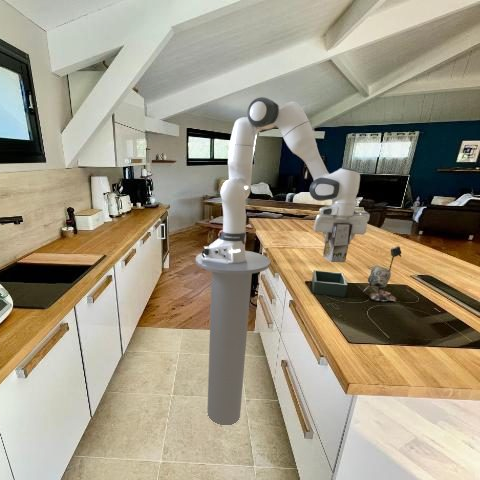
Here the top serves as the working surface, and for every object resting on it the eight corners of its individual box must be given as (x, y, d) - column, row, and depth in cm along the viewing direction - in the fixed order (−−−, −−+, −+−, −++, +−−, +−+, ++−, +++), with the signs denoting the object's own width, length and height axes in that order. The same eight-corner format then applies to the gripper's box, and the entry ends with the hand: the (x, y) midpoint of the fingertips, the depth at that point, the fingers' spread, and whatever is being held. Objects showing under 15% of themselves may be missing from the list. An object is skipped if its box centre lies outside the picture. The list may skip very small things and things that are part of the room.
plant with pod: (362, 291, 124) (374, 242, 117) (396, 297, 119) (409, 246, 112) (361, 298, 118) (373, 247, 110) (396, 305, 113) (411, 251, 105)
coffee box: (345, 262, 132) (353, 224, 126) (330, 262, 132) (337, 224, 126) (336, 256, 140) (343, 220, 134) (322, 256, 140) (328, 220, 134)
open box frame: (312, 293, 123) (314, 281, 121) (311, 281, 135) (313, 270, 134) (344, 297, 119) (347, 285, 117) (340, 284, 132) (343, 273, 130)
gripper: (369, 210, 128) (362, 243, 133) (316, 208, 134) (311, 239, 139) (372, 212, 122) (364, 247, 127) (316, 210, 128) (311, 243, 133)
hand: (336, 243), depth 133 cm, fingers closed on coffee box, 7 cm apart
